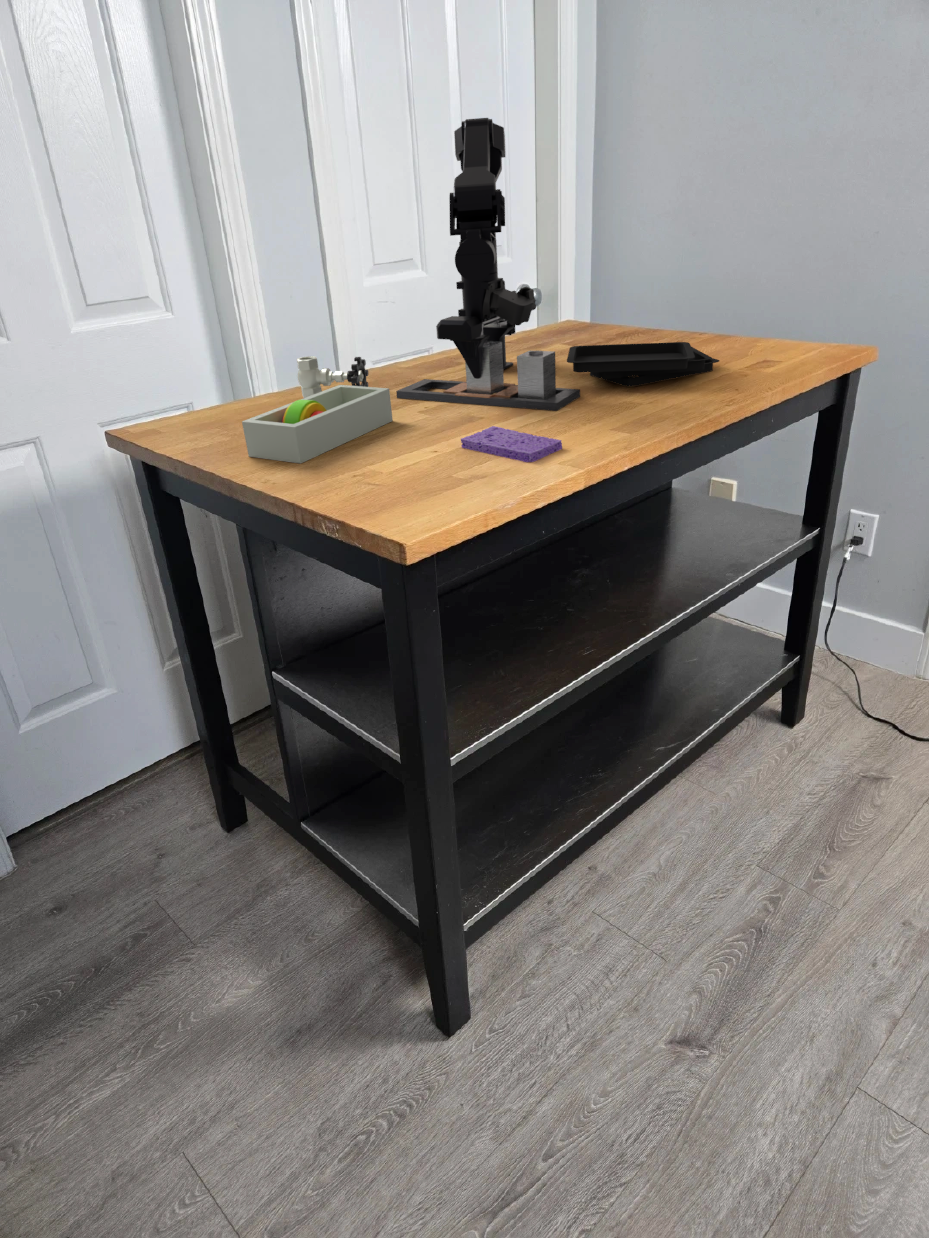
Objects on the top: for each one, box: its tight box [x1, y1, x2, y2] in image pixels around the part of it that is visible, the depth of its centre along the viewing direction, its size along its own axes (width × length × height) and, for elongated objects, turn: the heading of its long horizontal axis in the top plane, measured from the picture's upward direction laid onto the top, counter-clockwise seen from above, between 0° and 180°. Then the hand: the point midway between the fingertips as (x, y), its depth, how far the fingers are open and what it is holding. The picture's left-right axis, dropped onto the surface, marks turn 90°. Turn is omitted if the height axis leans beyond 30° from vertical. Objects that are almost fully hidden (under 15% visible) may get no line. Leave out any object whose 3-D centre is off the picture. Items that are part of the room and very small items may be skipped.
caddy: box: [241, 384, 393, 464], centre depth 122 cm, size 22×10×5 cm, turn 150°
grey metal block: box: [516, 349, 557, 400], centre depth 132 cm, size 4×4×8 cm
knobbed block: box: [464, 341, 505, 395], centre depth 136 cm, size 4×4×8 cm
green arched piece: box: [282, 399, 327, 424], centre depth 121 cm, size 6×20×7 cm, turn 150°
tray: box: [566, 341, 720, 387], centre depth 142 cm, size 30×23×5 cm
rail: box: [396, 378, 581, 412], centre depth 138 cm, size 30×9×1 cm, turn 60°
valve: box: [296, 355, 370, 398], centre depth 145 cm, size 7×7×12 cm
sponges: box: [460, 425, 563, 463], centre depth 112 cm, size 7×13×2 cm, turn 46°
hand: (484, 375), depth 136 cm, fingers closed on knobbed block, 4 cm apart
